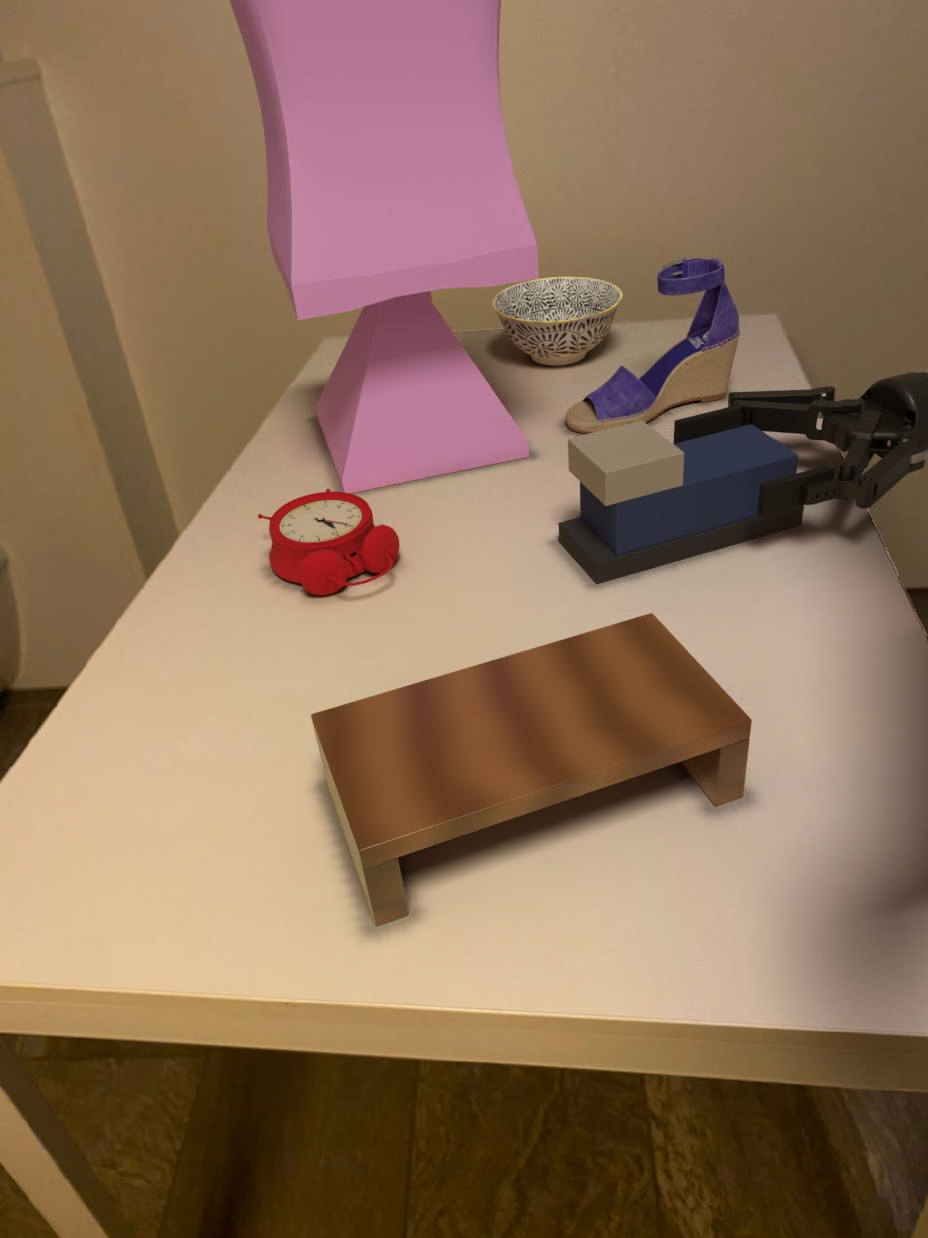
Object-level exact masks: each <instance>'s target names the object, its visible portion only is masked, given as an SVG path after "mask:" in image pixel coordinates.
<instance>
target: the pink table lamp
mask: <svg viewBox="0 0 928 1238" xmlns="http://www.w3.org/2000/svg"><path fill="white" fill-rule="evenodd" d="M229 4H230V6H231V8H232V12H233V15H234V18H235V21H236V24H237V27H238V30H239V32H240V33H239V34H240V35H241V39H242V42H243V47H244V49H245V52H246V55H247V59H248V62H249V66H250V69H251V72H252V76H253V82H254V86H255V90H256V93H257V98H258V102H259V103H258V104H259V107H260V115H261V120H262V128H263V136H264V144H265V145H264V146H265V157H266V177H267V178H266V179H267V181H266V182H267V184H266V185H267V202H266V203H267V205H266V206H267V208H266V211H267V212H266V228H267V229H266V230H267V234H268V240H269V244H270V248H271V249H270V250H271V255H272V257H273V260H274V262H275V265H276V267H277V269H278V271H279V273H280V275H281V278H282V280H283V282H284V285H285V288H286V291H287V294H288V297H289V300H290V302H291V305H292V308H293V311H294V314H295V316H296V319H297V321H301V320H307V319H308V320H309V319H311V318H312V319H313V318H319V317H325V316H329V315H336V314H341V313H348V312H351V311H354V310H357V309H361V308H362V310H361V312H360V314H359V316H358V318H357V320H356V322H355V324H354V326H353V328H352V330H351V332H350V334H349V335H348V336H349V337H348V339H347V341H346V343H345V345H344V347H343V349H342V350H341V353H340V355H339V356H338V359H337V361H336V363H335V365H334V367H333V370H332V372H331V374H330V376H329V378H328V380H327V382H326V384H325V386H324V388H323V390H322V392H321V394H320V396H319V398H318V400H317V402H316V404H315V409H316V414H317V420H318V423H319V425H320V428H321V431H322V434H323V437H324V440H325V442H326V445H327V449H328V451H329V454H330V456H331V460H332V462H333V466H334V468H335V471H336V474H337V476H338V479H339V482H340V485H341V488H342V490H343V491H342V492H345V493H350V494H354V493H359V492H364V491H368V490H373V489H378V488H383V487H388V486H393V485H398V484H404V483H407V482H412V481H417V480H422V479H427V478H432V477H436V476H437V477H438V476H442V475H446V474H451V473H457V472H462V471H466V470H467V471H468V470H472V469H477V468H481V467H487V466H491V465H496V464H501V463H506V462H511V461H515V460H520V459H525V458H530V445H529V443H530V442H529V440H528V439H527V438H526V436H525V434H524V433H523V432H522V430H521V429H520V428H519V426H518V425H517V423H516V421H515V420H514V418H513V417H512V415H511V414H510V413H509V412H508V410H507V408H506V407H505V405H504V404H503V403H502V401H501V400H500V398H499V397H498V396H497V394H496V392H495V391H494V389H493V388H492V387H491V385H490V384H489V383H488V381H487V380H486V378H485V376H484V375H483V374H482V372H481V370H480V369H479V368H478V367H477V365H476V364H475V362H474V361H473V359H472V358H471V356H470V355H469V354H468V352H467V351H466V348H465V347H464V346H463V345H462V343H461V342H460V341H459V339H458V338H457V335H456V334H455V333H454V332H453V330H452V329H451V327H450V326H449V324H448V323H447V321H446V320H445V319H444V317H443V315H442V314H441V313H440V311H439V310H438V308H437V307H436V305H435V304H434V303H433V297H432V291H439V290H445V289H465V288H469V289H470V288H488V287H489V288H490V287H496V286H502V285H508V284H509V285H510V284H514V283H522V282H526V281H530V280H535V279H540V278H539V273H540V272H539V253H538V242H537V240H536V237H535V233H534V230H533V229H532V225H531V222H530V219H529V217H528V213H527V211H526V210H527V209H526V207H525V204H524V201H523V198H522V194H521V191H520V188H519V185H518V182H517V179H516V174H515V171H514V167H513V163H512V157H511V154H510V150H509V146H508V142H507V136H506V131H505V124H504V118H503V112H502V107H501V106H502V105H501V91H500V90H501V89H500V88H501V87H500V69H499V68H500V67H499V58H500V57H499V56H500V24H501V23H500V21H501V8H502V0H229Z"/></svg>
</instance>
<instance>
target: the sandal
mask: <svg viewBox="0 0 928 1238" xmlns="http://www.w3.org/2000/svg"><path fill="white" fill-rule="evenodd" d="M724 266H725V265H724V264H723V262H722V260H720V259H718V258H716V257H712V258H711V259H707V258H701V257H697V258H696V257H695V258H690V259H687V258H686V257H684V258H682V259H679V260H674V261H670V262H667V263H666V262H665V263H664V264H663V265H662V270H660V271H659V272H658V273H657V277H656V278H657V279H656V280H657V292H658V293H659V294H661V295H663V296H670V297H674V296H676V297H677V296H684V295H692V294H696V293H700V292H704V293H703V296H702V297H701V300H700V302H699V305H698V307H697V309H696V312H695V315H694V317H693V319H692V322H691V324H690V326H689V328H688V332H687V334H686V337H684V338H683V339H680V341H678V342H677V343H674V345H672V346H671V347H669V348H668V349H667V350H666V351H665V352H664V353H663V354H662V355H660V356H659V358H657V359H656V360H655V362H653V364H651V365H650V366H649V368H648V369H646V370H645V371H644V372H643V373H642V374H641V375H640V376H639V377H638V376H637V375H636V374H634V372H632V371H630V370H629V369H628V368H626V367H625V366H624V365H620V366H619V367H618V368H617V370H616V371H615V372H614V374H613V375H612V376H611V377H610V378H609V379H608V380H607V381H605V383H603V384H602V385H600V386H599V387H598V388H597V389H595V390H593V391H591V392H590V393H589V394H587V395H586V396H585V397H584V398H583V399H582V400H581V401H579V402H577V403H575V404H574V405H572V406H571V407H570V408H568V409H567V411H566V413H565V421H566V426H567V428H568V429H569V430H570V431H572V432H576V433H579V434H590V433H594V432H598V431H602V430H606V429H610V428H614V427H618V426H622V425H626V424H630V423H634V422H638V421H644V422H645V423H646V424H647V423H648V422H650V421H652V420H653V419H655V418H656V417H658V416H659V415H661V414H662V413H664V412H665V411H666V410H668V409H671V408H672V407H673V408H674V407H676V406H679V405H682V404H686V403H690V402H695V401H699V402H701V403H707V402H708V403H709V402H714V401H719V400H722V399H724V398H726V396H727V390H728V386H729V382H730V377H731V373H732V369H733V364H734V361H735V356H736V352H737V348H738V343H739V339H740V335H741V332H740V317H739V312H738V308H737V307H736V304H735V302H734V301H733V297H732V296H731V293H730V291H729V288H728V286H727V284H726V274H725V273H726V272H725V267H724Z"/></svg>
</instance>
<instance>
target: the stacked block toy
mask: <svg viewBox="0 0 928 1238" xmlns="http://www.w3.org/2000/svg"><path fill="white" fill-rule="evenodd" d="M567 456H568V458H567V459H568V471H569V472H570V474H572V475H573V476H574V477H575V478H576V479H577V480H578V481H579V509H580V510H579V511H580V512H579V513H580V516H578V517H574V518H570V519H567V520H563V521H560V522H559V521H558V542H559V543H560V545H561V546H562V547H563V548H564V549H565V550H566V551H567V552H568V553H569V554H570V556H571V557H572V558H573V559H574V560H575V561H576V562H577V564H578V565H579V566H580V567H581V568H582V569H583V570H584V572H586V574H587V575H588V576H589V577H590V578H591V579H592V580H593V582H594V583H595V584H597V585H598V584H601V583H604V582H608V581H611V580H615V579H618V578H621V577H626V576H629V575H632V574H636V573H639V572H642V571H647V570H650V569H654V568H656V567H660V566H664V565H667V564H670V563H674V562H677V561H681V560H684V559H688V558H691V557H695V556H698V555H702V554H706V553H709V552H713V551H717V550H719V549H723V548H727V547H730V546H733V545H737V544H740V543H744V542H747V541H751V540H754V539H757V538H761V537H765V536H767V535H768V536H769V535H772V534H775V533H779V532H782V531H785V530H789V529H792V528H796V527H800V526H802V524H803V516H804V509H805V505H802V506H799V507H795V508H792V509H788V510H784V511H781V512H777V513H774V514H770V515H766V516H763V517H762V516H761V515H760V514H759V513H757V510H758V500H759V491H760V483H763V482H767V481H770V480H774V479H778V478H781V477H785V476H789V475H793V474H796V473H798V472H797V471H798V464H799V457H800V455H799V454H798V453H797V452H795V451H793V450H791V449H790V448H789V447H788V446H786V445H784V444H783V443H781V442H780V441H778V440H776V439H775V438H773V437H772V436H770V434H767V433H766V432H765V431H761V430H760V429H758V428H757V427H755V426H753V425H752V424H750V425H746V426H742V427H739V428H735V429H731V430H727V431H723V432H719V433H715V434H711V435H707V436H703V437H700V438H696V439H692V440H688V441H684V442H680V443H676V444H673V443H672V442H671V441H670V440H668V439H667V438H666V437H665V436H663V435H662V434H661V433H660V432H658V431H657V430H656V429H654V428H653V427H652V426H650V425H649V424H647V423H645V422H644V421H638V422H634V423H630V424H626V425H622V426H618V427H614V428H610V429H606V430H602V431H598V432H594V433H590V434H586V433H584V434H582V435H578V436H577V435H576V436H575V437H574V436H573V437H569V438H567Z"/></svg>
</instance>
